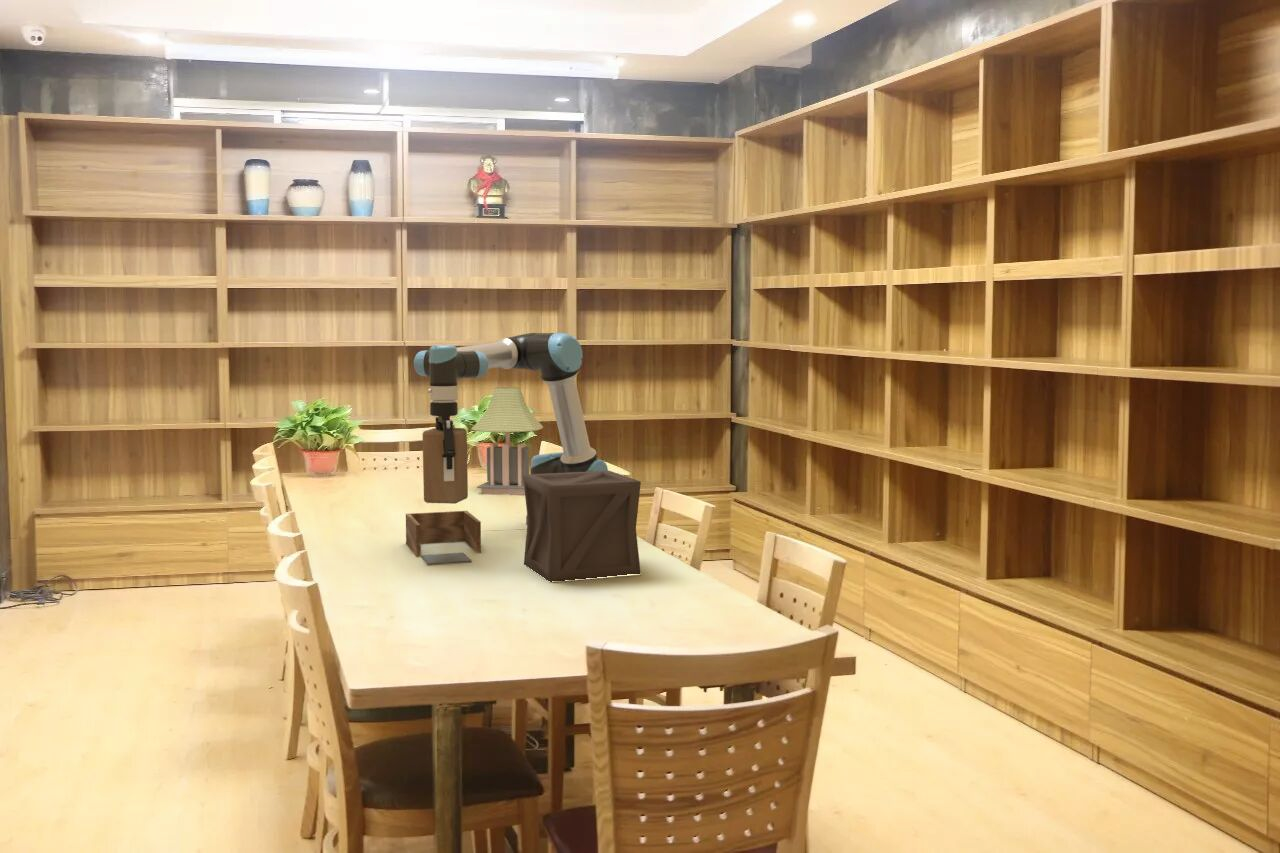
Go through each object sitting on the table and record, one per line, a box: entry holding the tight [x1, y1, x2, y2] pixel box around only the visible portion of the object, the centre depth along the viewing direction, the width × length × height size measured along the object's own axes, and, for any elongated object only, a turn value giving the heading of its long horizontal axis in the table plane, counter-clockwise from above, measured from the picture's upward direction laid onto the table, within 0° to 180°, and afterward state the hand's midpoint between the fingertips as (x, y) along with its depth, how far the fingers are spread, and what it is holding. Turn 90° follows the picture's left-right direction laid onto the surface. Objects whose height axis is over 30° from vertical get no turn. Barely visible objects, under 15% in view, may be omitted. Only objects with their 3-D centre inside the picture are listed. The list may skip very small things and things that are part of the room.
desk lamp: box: [471, 386, 544, 496], centre depth 479 cm, size 26×28×40 cm
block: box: [421, 427, 469, 505], centre depth 346 cm, size 10×10×20 cm
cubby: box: [405, 510, 482, 558], centre depth 366 cm, size 18×21×9 cm
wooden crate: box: [523, 470, 642, 583], centre depth 334 cm, size 25×25×25 cm
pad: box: [420, 552, 473, 566], centre depth 349 cm, size 12×12×1 cm
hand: (444, 478), depth 347 cm, fingers closed on block, 13 cm apart
